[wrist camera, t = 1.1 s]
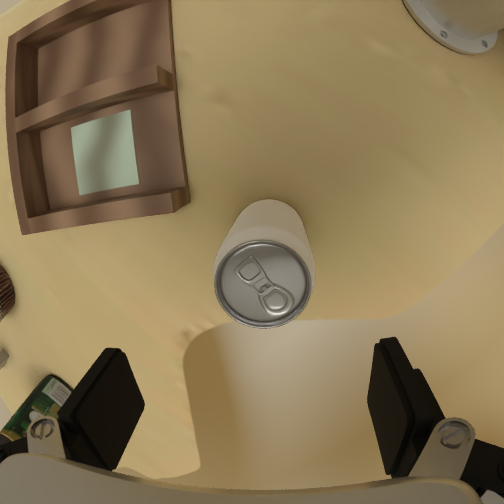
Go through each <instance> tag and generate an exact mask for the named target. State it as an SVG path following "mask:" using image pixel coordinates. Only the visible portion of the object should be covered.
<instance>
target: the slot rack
mask: <svg viewBox="0 0 504 504" xmlns="http://www.w3.org/2000/svg"><path fill="white" fill-rule="evenodd" d="M6 129H7V143H8V154H9V164H10V172H11V179H12V186H13V192H14V198H15V204H16V209H17V214H18V219H19V224H20V228H21V233H22V235H27V234H32V233H38V232H44V231H50V230H56V229H62V228H68V227H74V226H81V225H87V224H94V223H101V222H107V221H114V220H122V219H129V218H136V217H144V216H152V215H160V214H168V213H174V212H176V211H177V210H179V209H180V208H182V207H184V206H185V205H187V204H188V203H190V195H189V188H188V180H187V173H186V165H185V157H184V149H183V140H182V132H181V123H180V113H179V104H178V94H177V83H176V72H175V59H174V46H173V32H172V15H171V0H70V1H68V2H66V3H65V4H63V5H61V6H59V7H57V8H55V9H53V10H52V11H50V12H48V13H46V14H44V15H43V16H41V17H39V18H38V19H36V20H34V21H33V22H31V23H29V24H28V25H26V26H25V27H23V28H22V29H20V30H19V31H17V32H16V33H14V34H13V35H11V36H10V37H9V39H8V49H7V63H6Z"/></svg>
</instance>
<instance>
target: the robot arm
mask: <svg viewBox="0 0 504 504" xmlns="http://www.w3.org/2000/svg"><path fill="white" fill-rule="evenodd" d="M403 2H404V4H405V6H406V7H407V9H408V11H409V12H410V14H411V15H412V17H413V18H414V19H415V20H416V22H417V23H418V24H419V25H420V26H421V27H422V28H423V29H424V30H425V31H426V32H427V33H428V34H429V35H430V36H432V37H433V38H434V39H435V40H437V41H438V42H440V43H441V44H443V45H444V46H446V47H448V48H450V49H452V50H454V51H456V52H460V53H463V54H469V55H476V54H481V53H484V52H487V51H488V50H490V49H491V48H492V47H493V46H494V45H495V43H496V41H497V38H498V33H499V30H501V29H503V28H504V0H403ZM367 403H368V408H369V411H370V415H371V418H372V422H373V425H374V430H375V433H376V437H377V441H378V445H379V449H380V453H381V457H382V461H383V465H384V469H385V473H386V475H390V474H391V477H392V479H386V480H380V481H372V482H365V483H358V484H350V485H342V486H332V487H320V488H308V489H288V490H242V489H221V488H208V487H198V486H190V485H189V486H188V485H182V484H174V483H167V482H161V481H155V480H150V479H144V478H139V477H134V476H129V475H125V474H121V473H116V472H112V470H114V469H116V467H117V465H118V463H119V461H120V459H121V457H122V455H123V452H124V450H125V448H126V446H127V444H128V442H129V440H130V438H131V435H132V433H133V431H134V429H135V427H136V425H137V423H138V421H139V418H140V416H141V414H142V412H143V410H144V406H145V403H144V400H143V397H142V395H141V392H140V390H139V387H138V385H137V383H136V380H135V378H134V375H133V372H132V370H131V367H130V364H129V362H128V359H127V356H126V354H125V353H124V352H122V350H121V349H119V348H106V349H105V350H104V351H103V352H102V353H101V355H100V356H99V357H98V359H97V360H96V361H95V362H94V364H93V365H92V366H91V368H90V369H89V370H88V372H87V373H86V374H85V375H84V377H83V378H82V379H81V381H80V382H79V383H78V385H77V386H76V387H75V389H74V390H73V391H72V393H71V394H70V395H69V397H68V398H67V400H66V401H65V402H64V404H63V405H62V406H61V408H60V409H59V410H58V412H57V415H58V416H59V418H58V419H57V420H56V419H55V418H54V417H51V416H41V417H39V418H36V419H35V420H34V421H32V422H31V424H30V425H29V427H28V429H27V436H26V437H23V438H20V439H17V440H14V441H11V442H8V443H5V444H2V445H0V504H504V448H501V447H498V446H495V445H492V444H489V443H486V442H483V441H480V440H477V439H475V430H474V428H473V427H472V425H471V424H470V423H469V422H468V421H466V420H464V419H461V418H456V417H453V418H447V419H445V417H444V415H443V412H442V411H441V409H440V407H439V405H438V402H437V401H436V399H435V397H434V395H433V393H432V391H431V389H430V387H429V385H428V383H427V381H426V379H425V377H424V376H423V374H422V372H421V371H420V369H418V368H417V369H413V368H412V366H411V364H410V362H409V360H408V358H407V356H406V354H405V352H404V351H403V349H402V347H401V345H400V343H399V341H398V339H397V338H396V337H390V338H384V339H380V342H379V343H376V344H375V346H374V355H373V362H372V370H371V377H370V384H369V390H368V396H367Z"/></svg>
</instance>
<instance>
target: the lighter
mask: <svg viewBox="0 0 504 504" xmlns="http://www.w3.org/2000/svg"><path fill="white" fill-rule="evenodd" d="M8 357H9V355H8V354H7V353H6V352H5V351H4V349H2V350H1V351H0V369H1V368H2V367H3V366H4V365H5V364H6V362H7V359H8Z"/></svg>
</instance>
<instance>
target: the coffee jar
mask: <svg viewBox="0 0 504 504" xmlns="http://www.w3.org/2000/svg"><path fill="white" fill-rule="evenodd" d="M71 393H72V390H71V389H70V388H69V387H68V386H67V385H66V384H65V383H64V382H62V381H60V380H59V379H57V378H55V377H53V376H47V377H45V378H44V379H43V380H42V381H41V382H40V383H39V384H38V385H37V387H36V388H35V389H34V390H33V391H32V393H31V394H30V395H29V396H28V398H27V399H26V400H25V401H24V403H23V404H22V405H21V406H20V407H19V409H18V410H17V411H16V412H15V414H14V415H13V416H12V417H11V419H10V420H9V422H8V423H7V424H6V425H5V426H4V428H3V429H2V430H1V431H0V445H2V444H5V443H8V442H11V441H14V440H17V439H20V438H23V437H26V436H27V429H28V427H29V425H30V424H31V422H32V421H34V420H35V419H36V418H39V417H41V416H51V417H54V418H55V419H56V420H57V419H58V418H59V416H58V415H57V412H58V410H59V409H60V408H61V406H62V405H63V404H64V402H65V401H66V400H67V398H68V397H69V395H70V394H71Z"/></svg>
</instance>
